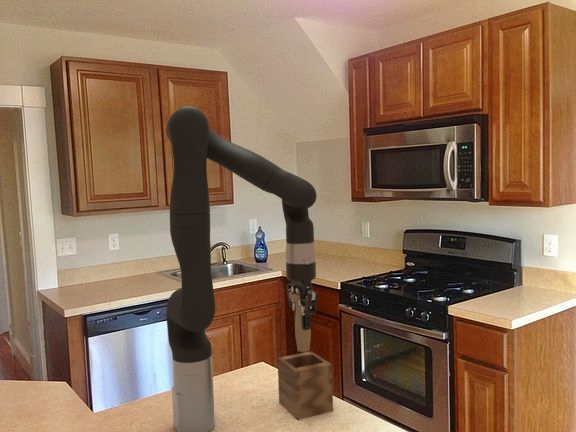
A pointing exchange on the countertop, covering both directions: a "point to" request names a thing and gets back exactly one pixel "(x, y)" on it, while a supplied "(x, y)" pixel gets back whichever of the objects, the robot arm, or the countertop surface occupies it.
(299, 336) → the handle
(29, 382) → the countertop surface
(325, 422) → the countertop surface
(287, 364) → the wooden box
